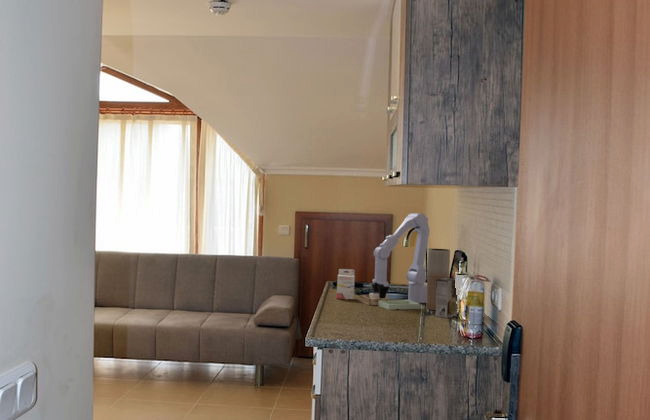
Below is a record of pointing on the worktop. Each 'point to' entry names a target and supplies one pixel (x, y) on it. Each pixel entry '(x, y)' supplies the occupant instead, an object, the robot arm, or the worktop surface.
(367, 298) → the frame
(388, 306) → the tray
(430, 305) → the tall taupe carton
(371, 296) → the block
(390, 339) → the worktop surface
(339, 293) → the ink cartridge box
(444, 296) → the coffee box
